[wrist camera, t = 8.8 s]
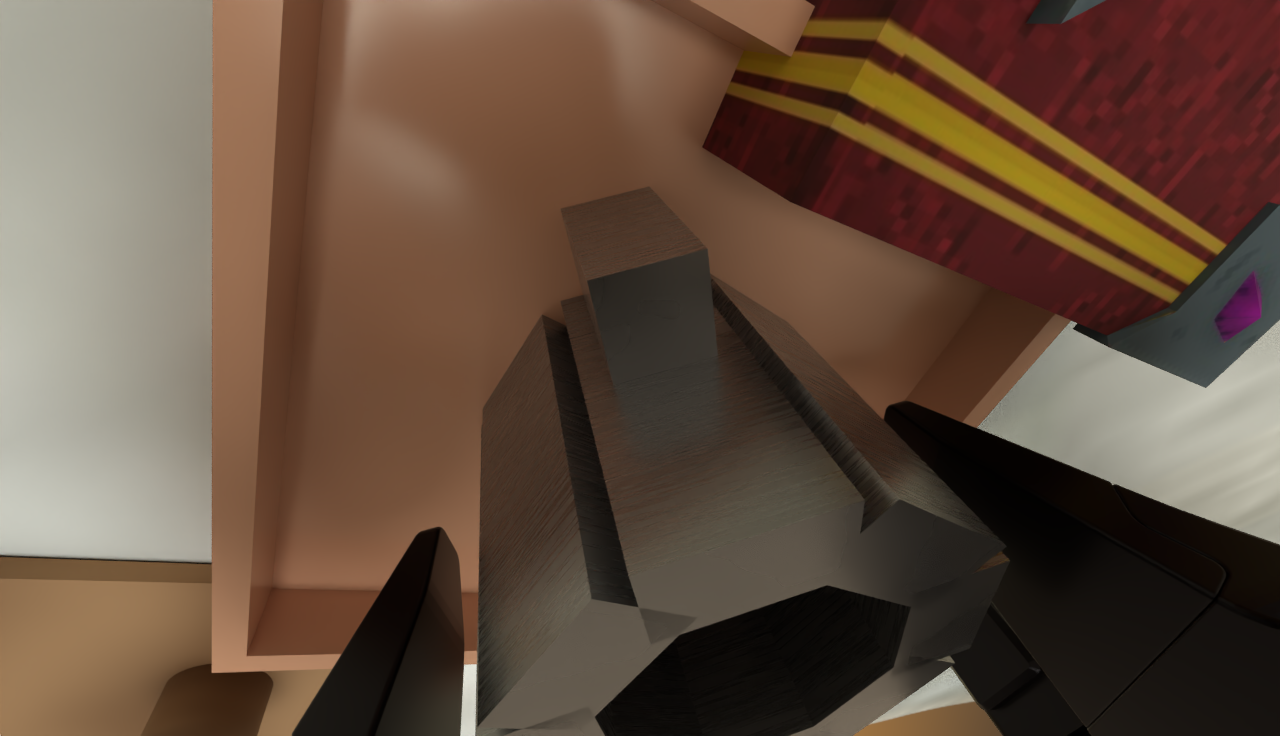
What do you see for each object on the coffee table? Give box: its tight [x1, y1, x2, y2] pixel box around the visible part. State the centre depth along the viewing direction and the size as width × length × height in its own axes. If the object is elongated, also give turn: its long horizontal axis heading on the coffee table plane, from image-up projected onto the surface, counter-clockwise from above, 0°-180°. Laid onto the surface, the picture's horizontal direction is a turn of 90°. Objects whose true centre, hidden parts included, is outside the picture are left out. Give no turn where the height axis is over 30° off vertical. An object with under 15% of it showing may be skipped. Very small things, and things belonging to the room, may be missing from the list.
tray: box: [212, 0, 1071, 673], centre depth 11 cm, size 15×15×2 cm
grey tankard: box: [475, 187, 1010, 736], centre depth 9 cm, size 9×7×6 cm
